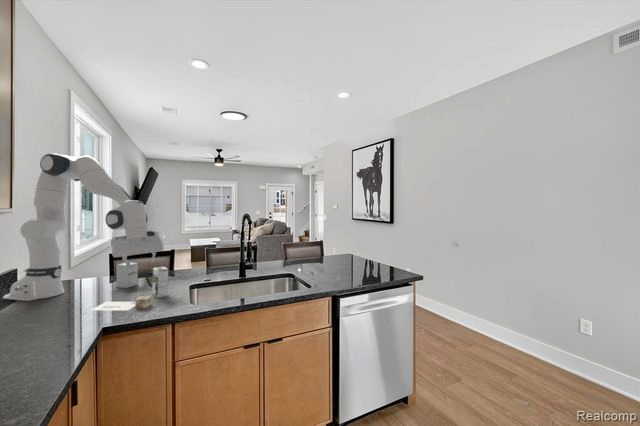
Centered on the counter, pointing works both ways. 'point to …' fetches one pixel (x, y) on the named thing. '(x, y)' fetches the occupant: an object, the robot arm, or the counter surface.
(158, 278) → the syrup box
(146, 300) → the beech block
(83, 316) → the counter surface
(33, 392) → the counter surface
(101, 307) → the envelope
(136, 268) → the supplement box
